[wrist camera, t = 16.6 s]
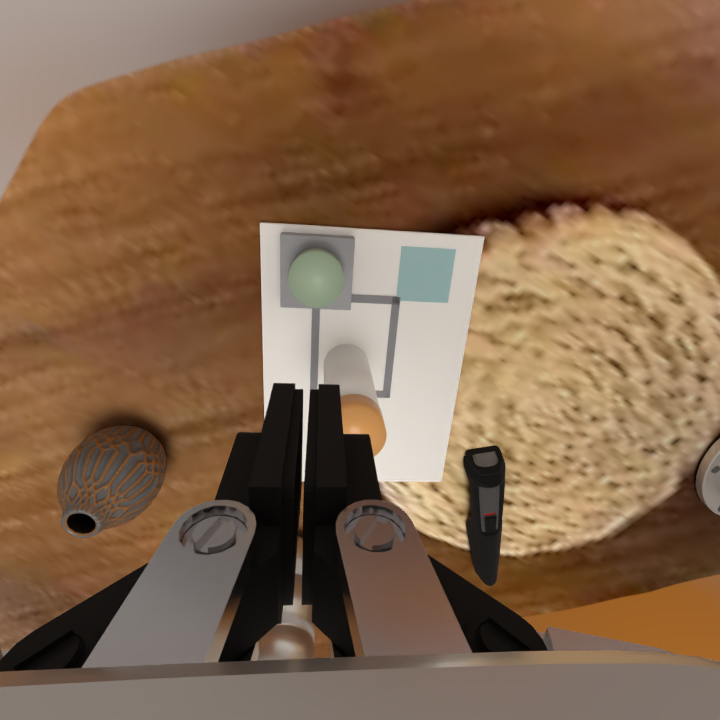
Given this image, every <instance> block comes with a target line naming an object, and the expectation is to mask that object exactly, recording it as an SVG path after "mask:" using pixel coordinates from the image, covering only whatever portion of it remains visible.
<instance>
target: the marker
mask: <svg viewBox="0 0 720 720" xmlns="http://www.w3.org/2000/svg"><path fill="white" fill-rule="evenodd" d="M324 384H337V385H340V397H341V410H342V423H343V434H369V435H370V439H371V445H372V450H373V456H376V455H377V454H378V453H379V452H380V451H381V450H382V448H383V446H384V444H385V442H386V436H387V433H386V428H385V424H384V420H383V416H382V412H381V409H380V407H379V403H378V399H377V395H376V390H375V386H374V382H373V378H372V374H371V370H370V366H369V362H368V358H367V356H366V354H365V353H364V352H363V351H362V350H361V349H360V348H358V347H357V346H354V345H349V344H344V345H339V346H337V347H335V348H333V349H332V350H330V351H329V352H328V354H327V355H326V357H325V360H324Z"/></svg>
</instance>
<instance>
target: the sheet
mask: <svg viewBox="0 0 720 720" xmlns="http://www.w3.org/2000/svg"><path fill="white" fill-rule="evenodd" d="M281 232H295V233H312V234H328V235H345V236H354V238H355V248H354V265H353V281H352V297H351V310H331V309H308V308H285V307H280V234H281ZM483 243H484V236H477V235H461V234H445V233H429V232H413V231H397V230H381V229H365V228H349V227H333V226H317V225H301V224H285V223H269V222H260V251H261V294H262V337H263V380H264V420H265V416H266V412H267V407H268V403H269V399H270V395H271V391H272V387H273V383H295V389H303V444H302V481H304V478H305V462H306V446H307V430H308V414H309V398H310V389H317V390H318V386H319V384H324V360H325V357H326V355H327V354H328V352H329V351H330V350H332V349H333V348H335V347H337V346H339V345H344V344H349V345H354V346H357V347H358V348H360V349H361V350H362V351H363V352H364V353H365V354H366V356H367V358H368V362H369V366H370V370H371V374H372V378H373V382H374V386H375V390H376V395H377V399H378V403H379V407H380V409H381V412H382V416H383V420H384V424H385V428H386V433H387V436H386V442H385V444H384V446H383V448H382V450H381V451H380V452H379V453H378V454H377V455H376V456H374V461H375V467H376V472H377V478H378V482H441V481H442V475H443V469H444V464H445V458H446V452H447V447H448V441H449V435H450V430H451V424H452V418H453V413H454V407H455V401H456V396H457V390H458V385H459V379H460V373H461V368H462V362H463V356H464V351H465V345H466V339H467V334H468V328H469V322H470V317H471V311H472V305H473V300H474V294H475V288H476V283H477V277H478V271H479V266H480V260H481V254H482V249H483Z"/></svg>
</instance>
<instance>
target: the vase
mask: <svg viewBox="0 0 720 720" xmlns="http://www.w3.org/2000/svg"><path fill="white" fill-rule="evenodd" d="M166 467H167V461H166V455H165V451H164V449H163V447H162V445H161V443H160V442H159V441H158V439H157V438H156V437H155V436H153V435H152V434H151V433H149V432H148V431H146V430H144V429H142V428H139V427H135V426H127V425H118V426H112V427H109V428H105V429H103V430H100V431H98V432H96V433H94V434H92V435H91V436H89V437H88V438H86V439H85V440H84V441H83V442H81V443H80V444H79V445H78V446H77V447H76V448H75V449H74V450H73V452H72V453H71V454H70V455H69V457H68V458H67V460H66V461H65V463H64V465H63V467H62V470H61V472H60V475H59V479H58V485H57V494H58V499H59V503H60V506H61V509H62V520H61V523H62V526H63V528H64V529H65V531H67V532H68V533H69V534H71V535H73V536H76V537H80V538H87V537H91V536H94V535H96V534H97V533H99V532H100V531H102V530H104V529H108V528H112V527H116V526H119V525H122V524H124V523H126V522H129V521H130V520H132V519H134V518H135V517H137V516H138V515H139V514H141V513H142V512H143V511H144V510H145V509H146V508H147V507H148V506H149V505H150V504H151V503H152V501H153V500H154V499H155V497H156V496H157V494H158V493H159V491H160V489H161V486H162V484H163V481H164V479H165V474H166Z"/></svg>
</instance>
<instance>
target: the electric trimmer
mask: <svg viewBox="0 0 720 720" xmlns="http://www.w3.org/2000/svg"><path fill="white" fill-rule="evenodd" d="M464 468H465V471H466V473H467V476H468V478H469V481H470V492H471V518H470V519H469V520H468V522H467V533H468V538H469V544H470V549H471V554H472V560H473V565H474V569H475V571H476V573H477V574H478V576H479V577H480V579H481V580H482V581H483V582H484V583H485V584H486V585H488V586H492V585H494V584H495V582H496V580H497V572H498V564H499V554H500V543H501V533H502V513H503V501H504V488H505V462H504V459H503V456H502V453H501V450H500V449H499V448H498V447H497V446H489V447H482V448H476V449H470V450H467V452H466V456H464ZM484 516H485V517H484Z"/></svg>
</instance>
